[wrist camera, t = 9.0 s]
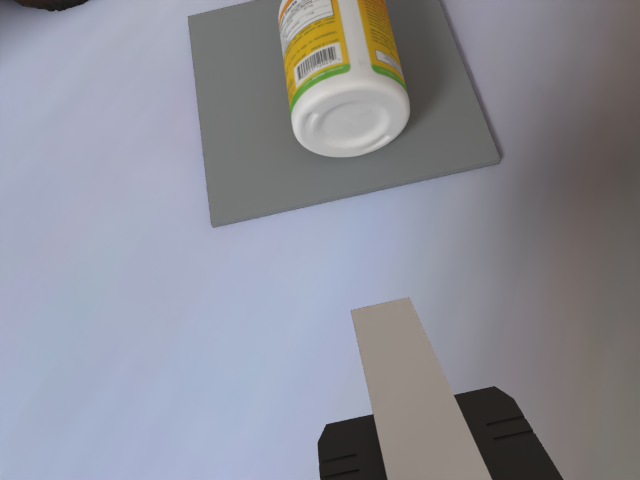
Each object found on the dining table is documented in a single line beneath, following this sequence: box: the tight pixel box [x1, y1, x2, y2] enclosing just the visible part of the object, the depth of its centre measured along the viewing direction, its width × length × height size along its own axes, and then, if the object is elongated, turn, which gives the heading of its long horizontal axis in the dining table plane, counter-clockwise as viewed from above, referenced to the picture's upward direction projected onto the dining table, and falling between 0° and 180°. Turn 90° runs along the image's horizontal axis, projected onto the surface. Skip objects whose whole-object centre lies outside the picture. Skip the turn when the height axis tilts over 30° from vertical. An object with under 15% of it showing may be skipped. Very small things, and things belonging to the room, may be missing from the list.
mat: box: [188, 0, 500, 228], centre depth 32 cm, size 14×14×1 cm
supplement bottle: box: [278, 0, 410, 157], centre depth 29 cm, size 5×5×10 cm
